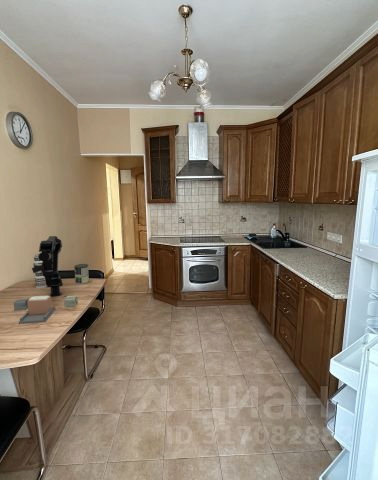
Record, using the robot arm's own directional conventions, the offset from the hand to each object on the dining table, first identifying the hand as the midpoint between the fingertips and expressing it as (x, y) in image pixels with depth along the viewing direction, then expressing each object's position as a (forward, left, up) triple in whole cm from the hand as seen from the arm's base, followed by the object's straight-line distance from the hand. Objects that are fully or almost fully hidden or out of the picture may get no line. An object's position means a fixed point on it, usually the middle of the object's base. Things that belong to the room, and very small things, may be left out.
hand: (47, 285), depth 156 cm
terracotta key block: (+13, -5, -11) cm, 18 cm away
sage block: (+8, +12, -13) cm, 19 cm away
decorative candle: (-42, -4, -13) cm, 44 cm away
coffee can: (-37, +24, -13) cm, 46 cm away
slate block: (-1, -14, -13) cm, 19 cm away
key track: (+16, -6, -12) cm, 21 cm away
